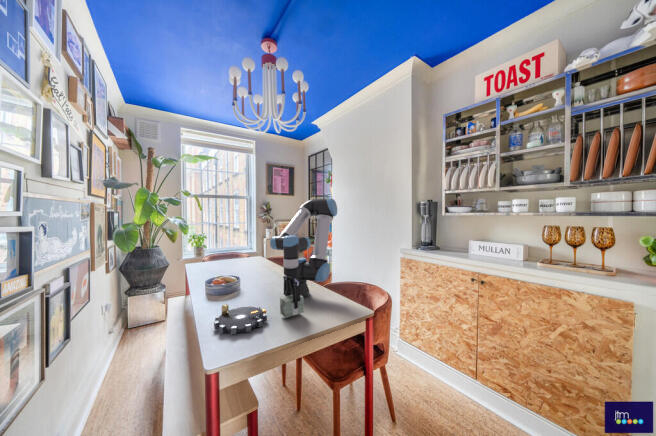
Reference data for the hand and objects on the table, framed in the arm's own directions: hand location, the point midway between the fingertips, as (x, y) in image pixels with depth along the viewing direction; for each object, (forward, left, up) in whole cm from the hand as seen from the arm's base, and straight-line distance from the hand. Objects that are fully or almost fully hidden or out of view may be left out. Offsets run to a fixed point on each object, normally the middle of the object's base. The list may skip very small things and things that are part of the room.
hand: (291, 312), depth 114 cm
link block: (0, 0, 0) cm, 1 cm away
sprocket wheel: (-8, -22, -2) cm, 24 cm away
